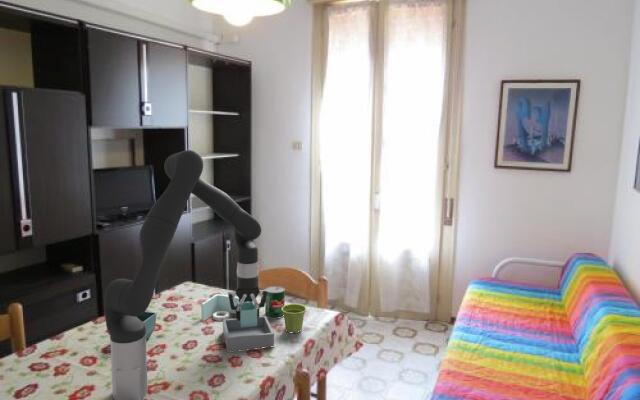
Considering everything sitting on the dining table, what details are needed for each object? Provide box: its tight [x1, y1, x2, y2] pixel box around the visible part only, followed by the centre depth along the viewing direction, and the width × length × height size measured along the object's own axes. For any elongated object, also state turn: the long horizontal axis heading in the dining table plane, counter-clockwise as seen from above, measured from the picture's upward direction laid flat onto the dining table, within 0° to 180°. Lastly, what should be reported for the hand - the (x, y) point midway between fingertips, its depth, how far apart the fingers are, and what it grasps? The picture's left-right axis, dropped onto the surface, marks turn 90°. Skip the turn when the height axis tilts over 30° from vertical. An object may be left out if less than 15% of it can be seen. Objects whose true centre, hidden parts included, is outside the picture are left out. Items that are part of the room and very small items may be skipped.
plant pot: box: [282, 303, 307, 333], centre depth 174 cm, size 9×9×9 cm
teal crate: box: [239, 301, 257, 327], centre depth 165 cm, size 8×6×6 cm
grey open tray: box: [222, 315, 275, 353], centre depth 166 cm, size 16×16×5 cm
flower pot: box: [137, 310, 157, 341], centre depth 163 cm, size 9×9×9 cm
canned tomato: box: [264, 285, 286, 319], centre depth 188 cm, size 8×8×11 cm
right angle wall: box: [200, 293, 239, 322], centre depth 185 cm, size 12×12×8 cm
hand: (247, 318), depth 165 cm, fingers closed on teal crate, 5 cm apart
